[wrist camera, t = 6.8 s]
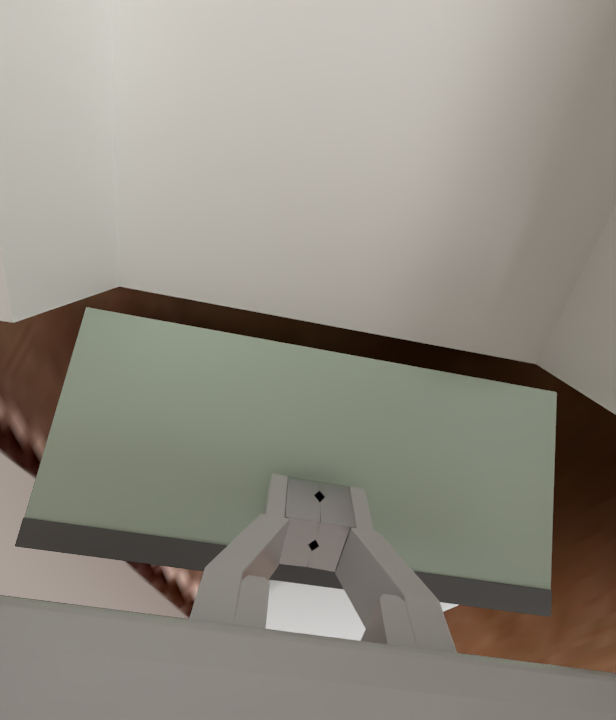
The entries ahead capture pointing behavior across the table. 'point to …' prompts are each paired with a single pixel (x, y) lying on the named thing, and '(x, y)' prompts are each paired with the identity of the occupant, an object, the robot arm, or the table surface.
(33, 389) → the table surface
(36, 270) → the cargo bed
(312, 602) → the external hard drive
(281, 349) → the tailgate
